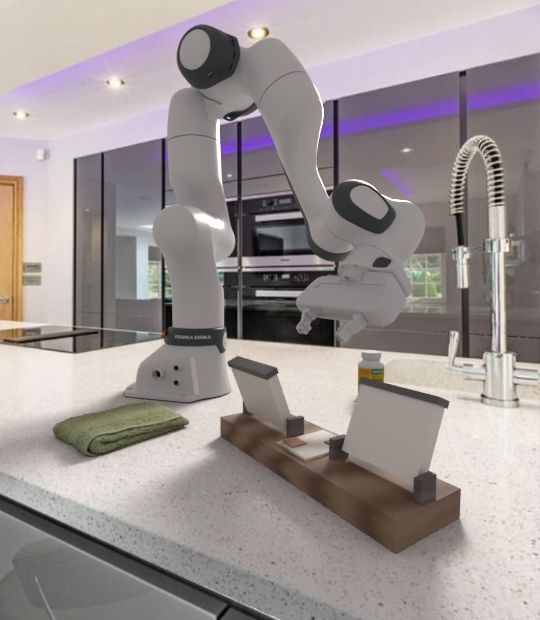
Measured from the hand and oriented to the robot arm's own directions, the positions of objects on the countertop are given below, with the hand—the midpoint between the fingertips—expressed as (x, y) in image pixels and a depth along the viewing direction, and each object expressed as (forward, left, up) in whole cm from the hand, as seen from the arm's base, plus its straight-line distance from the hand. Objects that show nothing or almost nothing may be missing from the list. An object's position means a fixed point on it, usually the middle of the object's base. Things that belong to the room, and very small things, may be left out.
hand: (318, 335), depth 64 cm
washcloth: (-31, -4, -16) cm, 35 cm away
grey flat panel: (+6, -21, -12) cm, 25 cm away
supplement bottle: (+12, +21, -16) cm, 29 cm away
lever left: (-7, -6, -12) cm, 16 cm away
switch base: (0, -14, -15) cm, 21 cm away
